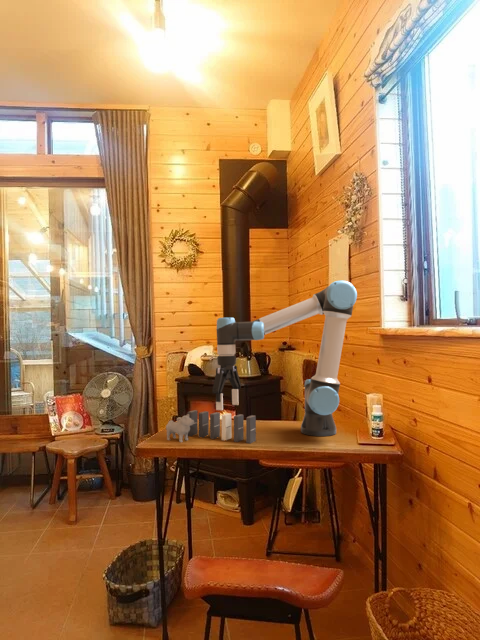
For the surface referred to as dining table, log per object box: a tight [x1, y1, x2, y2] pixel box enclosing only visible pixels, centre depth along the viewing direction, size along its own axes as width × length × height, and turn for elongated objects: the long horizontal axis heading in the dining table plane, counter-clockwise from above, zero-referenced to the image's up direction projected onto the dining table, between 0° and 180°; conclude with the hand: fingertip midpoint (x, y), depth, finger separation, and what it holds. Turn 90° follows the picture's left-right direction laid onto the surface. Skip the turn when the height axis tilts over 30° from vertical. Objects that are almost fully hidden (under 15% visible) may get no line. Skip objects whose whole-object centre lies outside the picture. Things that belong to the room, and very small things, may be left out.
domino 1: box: [187, 409, 199, 437], centre depth 191 cm, size 2×5×10 cm, turn 153°
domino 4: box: [233, 413, 245, 443], centre depth 181 cm, size 2×5×10 cm, turn 153°
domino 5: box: [245, 414, 257, 444], centre depth 179 cm, size 2×5×10 cm, turn 153°
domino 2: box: [198, 410, 210, 438], centre depth 189 cm, size 2×5×10 cm, turn 153°
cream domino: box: [221, 412, 233, 441], centre depth 184 cm, size 2×5×10 cm, turn 153°
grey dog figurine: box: [165, 413, 194, 443], centre depth 182 cm, size 5×13×11 cm, turn 57°
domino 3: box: [209, 411, 221, 440], centre depth 186 cm, size 2×5×10 cm, turn 153°
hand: (227, 407), depth 184 cm, fingers open, 13 cm apart
